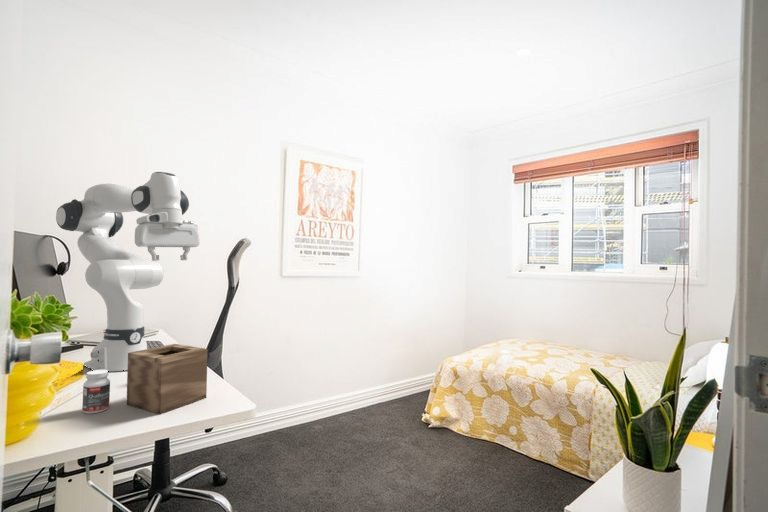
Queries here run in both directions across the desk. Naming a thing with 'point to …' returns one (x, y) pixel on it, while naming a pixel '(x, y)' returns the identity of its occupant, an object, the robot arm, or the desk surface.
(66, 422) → the desk surface
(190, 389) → the slot box
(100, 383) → the pill bottle
